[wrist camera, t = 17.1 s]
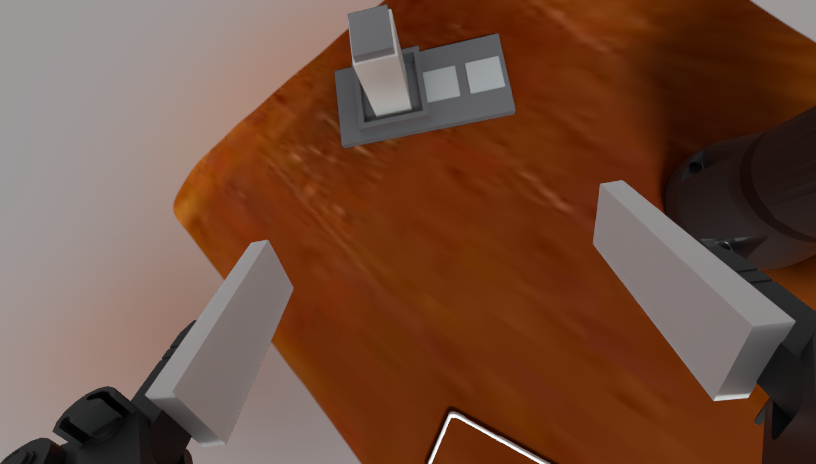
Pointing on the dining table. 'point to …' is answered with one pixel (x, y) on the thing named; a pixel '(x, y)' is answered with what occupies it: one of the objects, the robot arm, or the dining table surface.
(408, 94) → the plug
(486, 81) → the grey socket base plate
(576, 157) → the dining table surface
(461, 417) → the silver rectangular frame
